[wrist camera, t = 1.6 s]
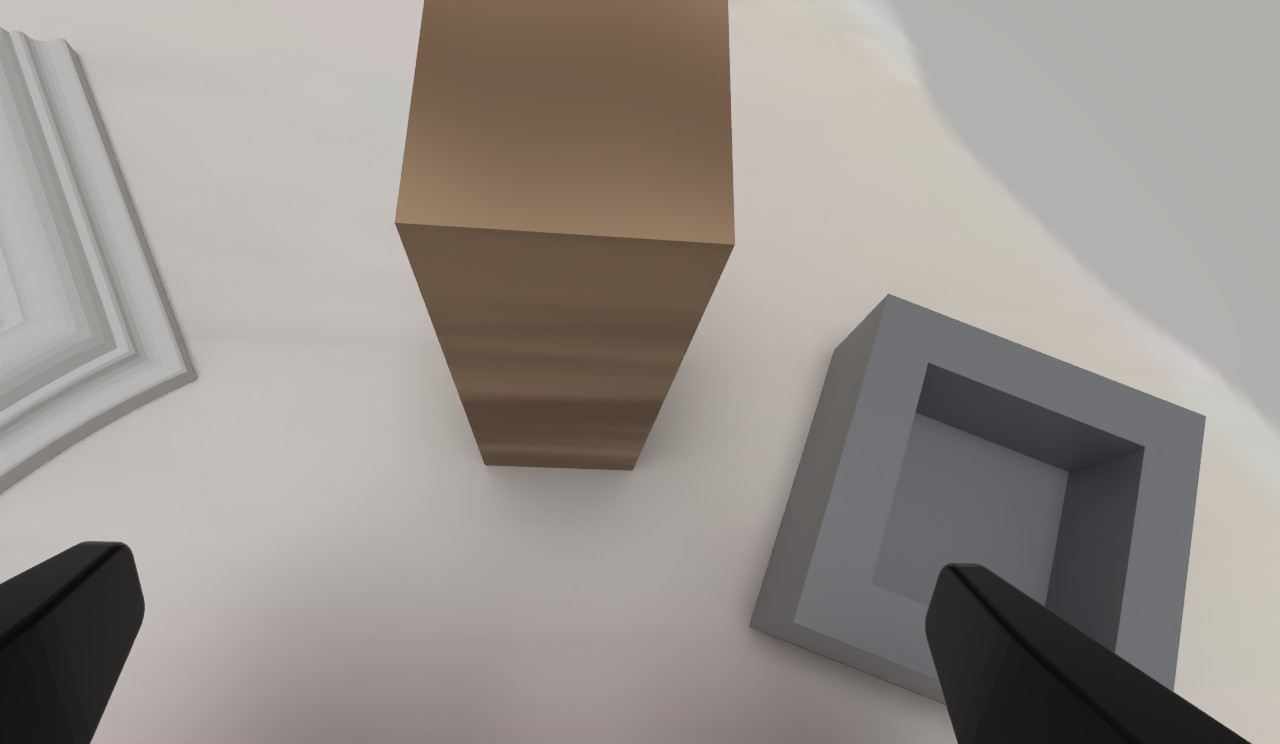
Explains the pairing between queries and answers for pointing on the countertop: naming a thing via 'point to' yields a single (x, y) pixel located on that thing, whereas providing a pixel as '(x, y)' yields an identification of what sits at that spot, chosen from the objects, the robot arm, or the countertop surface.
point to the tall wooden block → (567, 212)
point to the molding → (70, 268)
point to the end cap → (980, 498)
